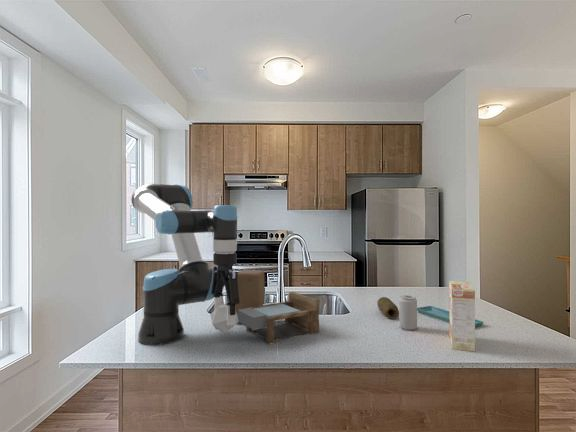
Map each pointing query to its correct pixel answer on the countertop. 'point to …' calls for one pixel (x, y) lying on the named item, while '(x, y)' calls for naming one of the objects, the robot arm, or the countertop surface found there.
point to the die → (221, 319)
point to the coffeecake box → (462, 315)
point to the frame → (291, 319)
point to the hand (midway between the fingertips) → (224, 320)
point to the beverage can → (408, 312)
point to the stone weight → (387, 308)
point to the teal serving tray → (440, 314)
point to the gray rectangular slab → (262, 315)
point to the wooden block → (250, 289)
